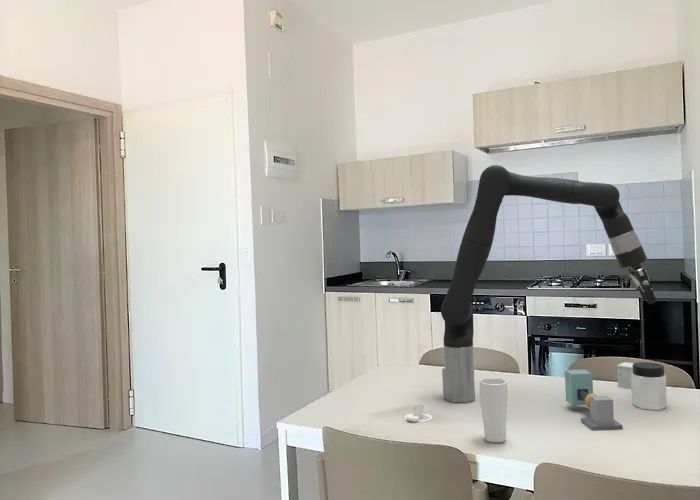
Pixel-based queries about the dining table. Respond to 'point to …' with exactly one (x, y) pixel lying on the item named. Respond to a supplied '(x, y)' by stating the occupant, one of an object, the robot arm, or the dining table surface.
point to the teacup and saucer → (417, 413)
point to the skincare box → (624, 374)
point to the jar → (649, 386)
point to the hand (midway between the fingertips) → (650, 301)
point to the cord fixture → (599, 412)
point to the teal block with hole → (577, 385)
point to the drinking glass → (494, 408)
